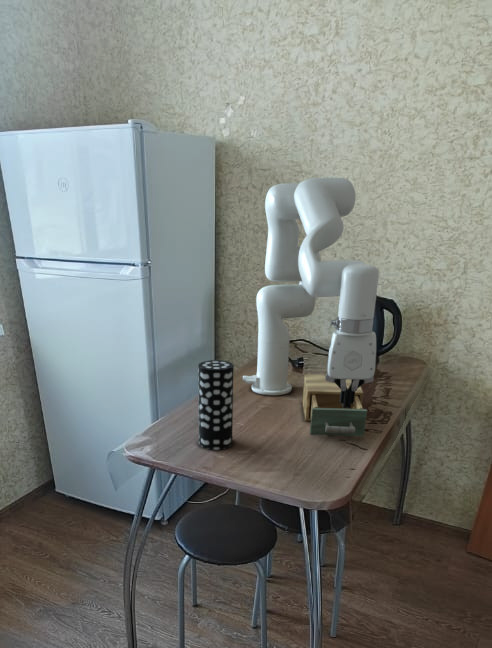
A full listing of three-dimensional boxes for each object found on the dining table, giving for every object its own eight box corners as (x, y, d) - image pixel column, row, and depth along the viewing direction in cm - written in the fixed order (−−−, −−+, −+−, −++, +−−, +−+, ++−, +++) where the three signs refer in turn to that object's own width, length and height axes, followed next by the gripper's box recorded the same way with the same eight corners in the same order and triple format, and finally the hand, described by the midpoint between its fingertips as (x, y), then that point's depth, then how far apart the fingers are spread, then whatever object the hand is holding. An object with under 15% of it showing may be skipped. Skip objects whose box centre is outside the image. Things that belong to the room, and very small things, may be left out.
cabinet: (359, 422, 156) (363, 392, 152) (305, 421, 157) (307, 390, 154) (352, 403, 170) (355, 375, 166) (302, 402, 171) (304, 374, 167)
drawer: (367, 444, 141) (370, 418, 138) (311, 442, 142) (313, 417, 139) (356, 415, 158) (359, 392, 155) (307, 414, 159) (309, 390, 156)
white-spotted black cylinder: (230, 436, 148) (232, 359, 139) (233, 449, 141) (234, 369, 132) (198, 436, 148) (197, 360, 139) (199, 450, 140) (198, 370, 131)
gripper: (321, 328, 122) (314, 410, 130) (393, 329, 121) (382, 412, 129) (318, 321, 129) (312, 400, 137) (386, 322, 127) (376, 401, 135)
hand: (346, 406), depth 133 cm, fingers closed
